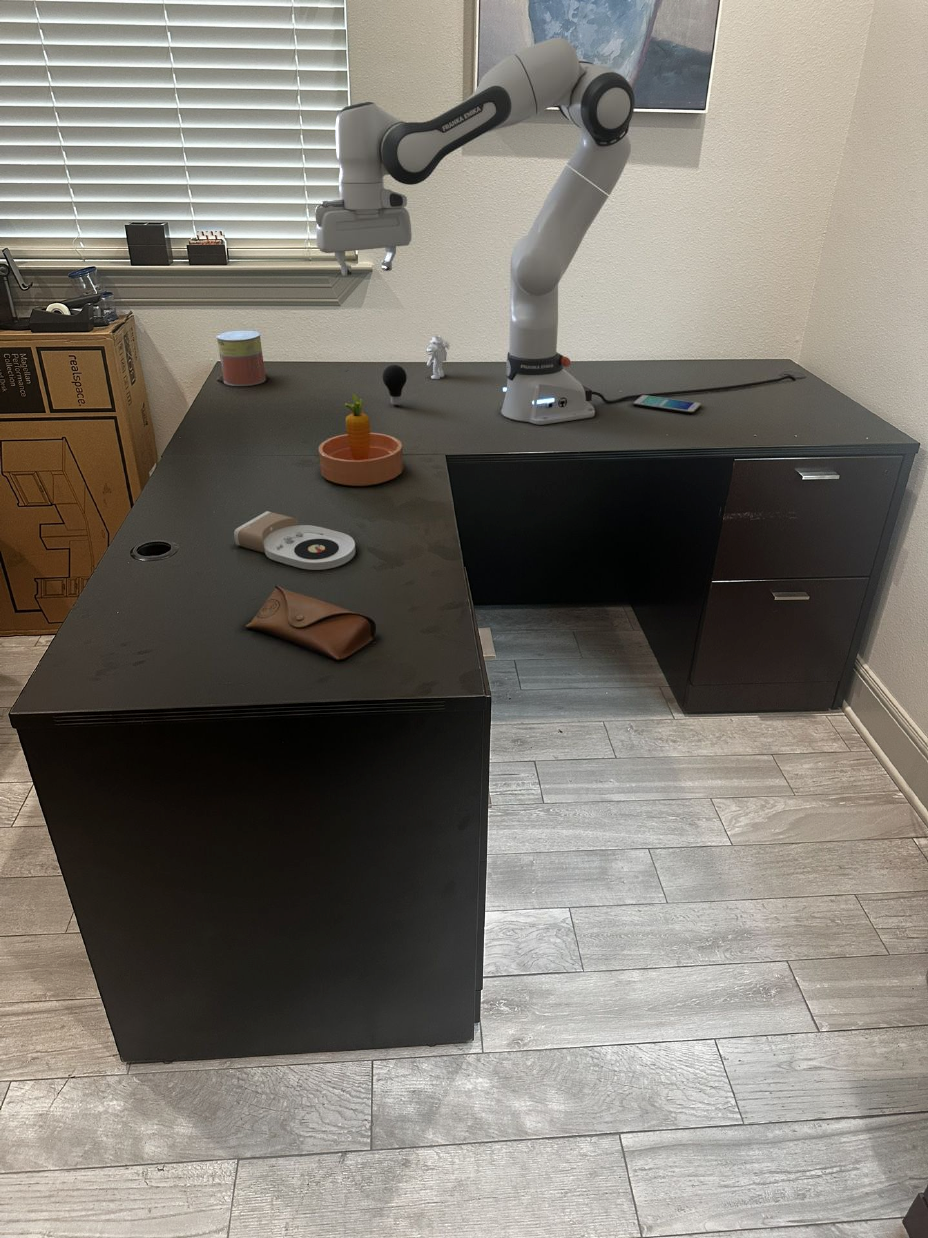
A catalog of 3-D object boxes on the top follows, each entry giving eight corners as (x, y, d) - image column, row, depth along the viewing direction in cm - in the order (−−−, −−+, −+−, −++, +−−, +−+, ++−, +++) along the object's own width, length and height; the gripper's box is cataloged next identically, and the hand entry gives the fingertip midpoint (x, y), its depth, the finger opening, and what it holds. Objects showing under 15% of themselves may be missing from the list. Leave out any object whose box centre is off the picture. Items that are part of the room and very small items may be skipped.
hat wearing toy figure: (435, 381, 225) (434, 336, 218) (423, 379, 226) (421, 334, 220) (452, 373, 231) (452, 329, 225) (441, 371, 233) (440, 327, 227)
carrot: (369, 474, 167) (364, 400, 159) (345, 472, 168) (339, 399, 160) (376, 465, 171) (371, 393, 163) (353, 463, 172) (347, 391, 164)
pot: (396, 454, 178) (395, 429, 175) (408, 483, 164) (407, 457, 161) (318, 461, 175) (316, 435, 172) (324, 491, 161) (321, 464, 158)
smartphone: (642, 394, 211) (701, 402, 204) (642, 397, 211) (701, 406, 205) (632, 402, 205) (693, 411, 199) (632, 405, 205) (692, 414, 199)
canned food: (226, 375, 231) (219, 330, 225) (267, 373, 232) (262, 329, 226) (221, 386, 222) (213, 340, 215) (263, 385, 223) (257, 339, 216)
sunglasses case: (239, 626, 119) (250, 581, 118) (271, 628, 125) (281, 585, 124) (341, 662, 111) (353, 613, 110) (369, 662, 117) (381, 616, 117)
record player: (273, 507, 147) (367, 531, 139) (275, 523, 149) (369, 547, 141) (228, 533, 139) (326, 560, 131) (231, 549, 140) (328, 577, 132)
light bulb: (380, 407, 206) (377, 367, 200) (390, 401, 210) (388, 361, 205) (401, 410, 204) (399, 369, 198) (411, 403, 208) (410, 363, 203)
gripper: (321, 202, 158) (328, 279, 166) (414, 196, 168) (416, 269, 175) (307, 200, 163) (314, 275, 170) (398, 194, 172) (401, 265, 180)
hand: (367, 272), depth 173 cm, fingers open, 8 cm apart
